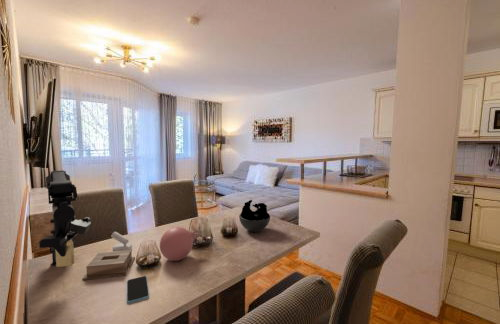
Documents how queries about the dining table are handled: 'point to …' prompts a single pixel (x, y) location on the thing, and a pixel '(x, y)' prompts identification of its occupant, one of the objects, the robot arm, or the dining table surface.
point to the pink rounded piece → (177, 243)
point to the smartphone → (137, 289)
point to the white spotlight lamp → (124, 242)
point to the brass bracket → (66, 255)
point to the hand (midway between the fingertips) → (64, 254)
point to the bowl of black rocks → (254, 217)
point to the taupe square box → (109, 265)
